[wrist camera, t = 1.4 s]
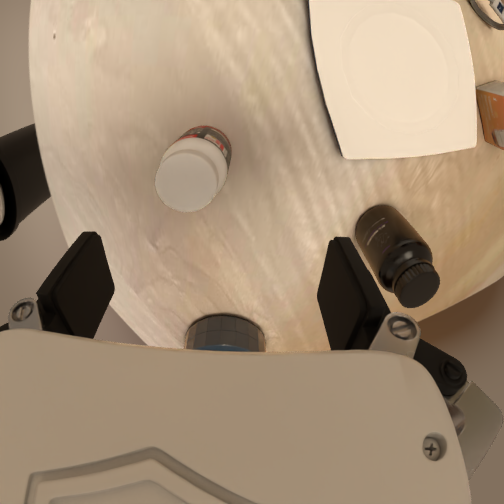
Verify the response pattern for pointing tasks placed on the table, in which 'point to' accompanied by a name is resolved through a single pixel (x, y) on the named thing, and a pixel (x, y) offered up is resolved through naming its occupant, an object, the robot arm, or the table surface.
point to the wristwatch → (497, 6)
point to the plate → (395, 76)
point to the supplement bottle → (397, 256)
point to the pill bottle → (193, 169)
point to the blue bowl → (225, 335)
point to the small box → (492, 111)
